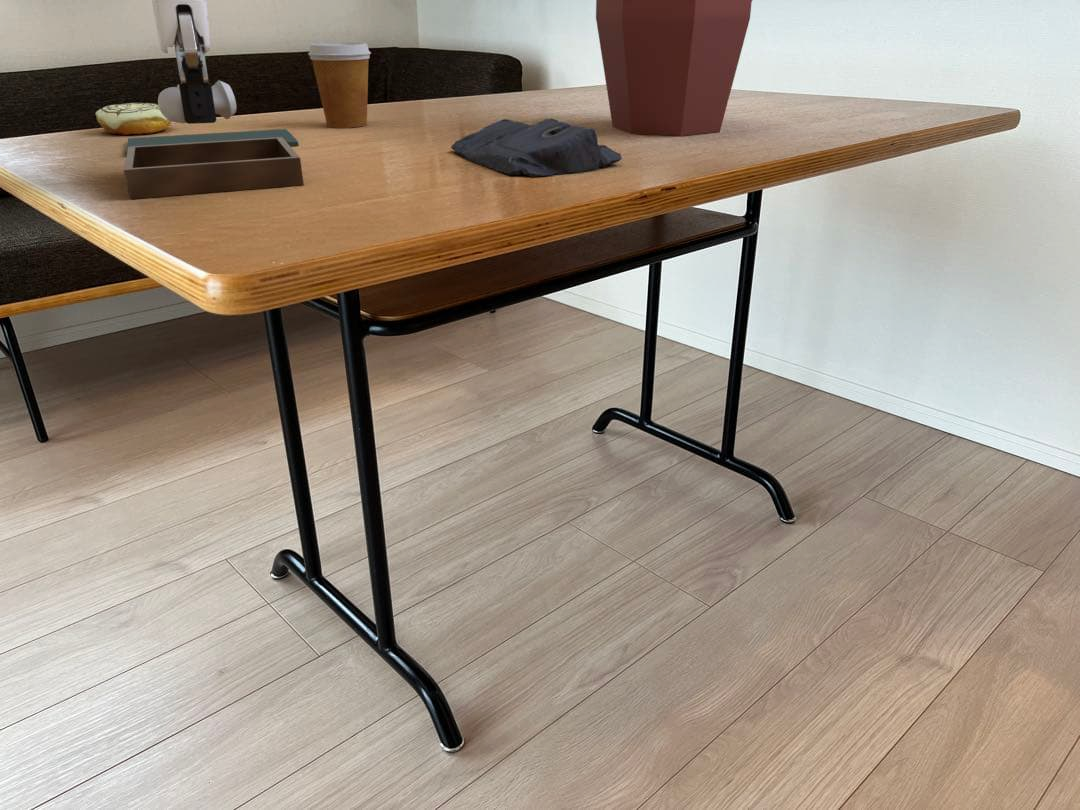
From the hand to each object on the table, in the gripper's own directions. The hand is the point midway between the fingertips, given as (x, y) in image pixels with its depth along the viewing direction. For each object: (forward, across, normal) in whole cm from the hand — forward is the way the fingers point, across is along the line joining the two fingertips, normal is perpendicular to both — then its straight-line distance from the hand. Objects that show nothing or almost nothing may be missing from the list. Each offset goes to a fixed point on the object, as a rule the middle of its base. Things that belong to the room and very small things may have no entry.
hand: (199, 117), depth 92 cm
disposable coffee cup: (+7, -37, +23) cm, 44 cm away
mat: (+7, -26, +2) cm, 27 cm away
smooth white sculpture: (+1, 0, 0) cm, 1 cm away
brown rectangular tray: (+7, 0, +1) cm, 7 cm away
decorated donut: (+7, -44, -8) cm, 45 cm away
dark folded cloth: (+6, +3, +39) cm, 39 cm away
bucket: (+6, -13, +68) cm, 69 cm away
